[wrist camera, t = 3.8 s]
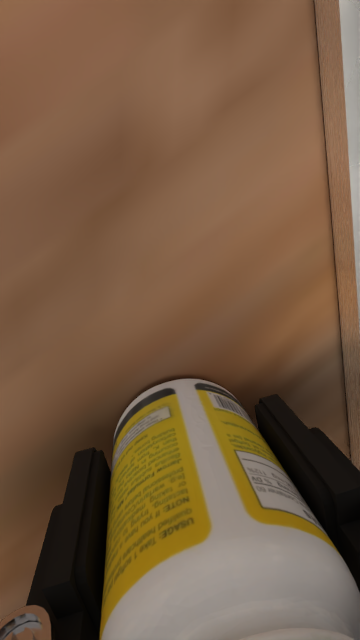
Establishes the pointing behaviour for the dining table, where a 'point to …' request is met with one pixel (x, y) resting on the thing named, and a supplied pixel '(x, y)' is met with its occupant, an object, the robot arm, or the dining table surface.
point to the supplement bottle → (213, 531)
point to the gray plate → (344, 179)
